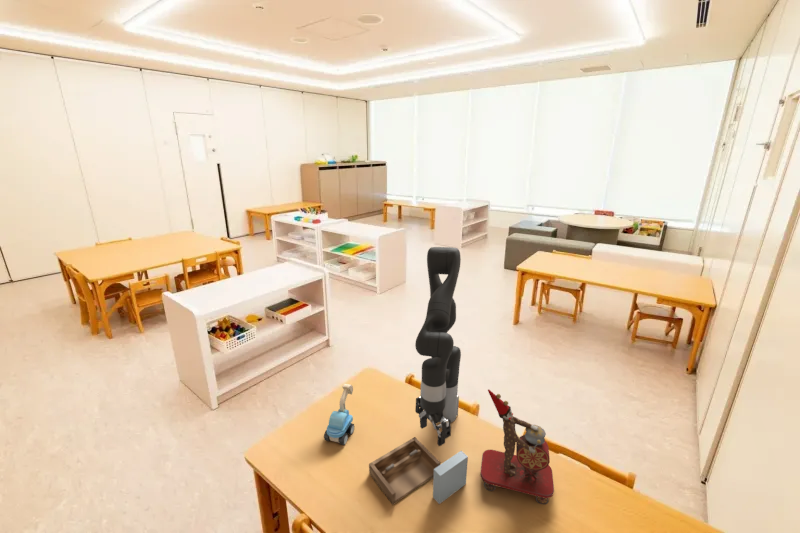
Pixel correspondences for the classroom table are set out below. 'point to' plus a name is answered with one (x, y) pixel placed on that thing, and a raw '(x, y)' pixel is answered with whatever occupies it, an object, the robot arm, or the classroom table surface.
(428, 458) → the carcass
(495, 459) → the clown toy
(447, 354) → the robot arm
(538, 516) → the classroom table surface
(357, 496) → the classroom table surface
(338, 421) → the toy excavator
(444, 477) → the blue-gray square slab
